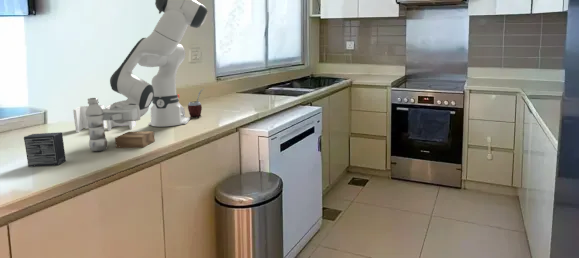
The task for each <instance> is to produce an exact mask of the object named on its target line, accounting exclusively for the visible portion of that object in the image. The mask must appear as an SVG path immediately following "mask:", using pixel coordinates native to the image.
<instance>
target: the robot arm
mask: <svg viewBox="0 0 579 258" xmlns="http://www.w3.org/2000/svg"><path fill="white" fill-rule="evenodd" d="M154 5H155V7H156V9H157V10H158V14H159V15H160V14H161V13H163V14H162V15H161V17H160V18H159V20H158V22H157V23H156V25H155V27H154V28H153V30H152V32H151V34H149V35H148V36H147V37H141V38H140V39H139V40H138V41H137V43H136V44H134V46H133V47H132V48H131V51H129V53H128V54H127V56H126V57H125V58H124V60H123V62H122V63H121V64H120V65H119V67H118V68H117V69H116V70H115V71H114V72H113V73H112V74H111V76H110V78H109V85H110V88H111V90H112V91H114V92H116V93H118V94H120V95H122V96H124V97H126V99H125V100H120V101H117V102H113V103H112V105H111V104H110V105H111V106H110V109H105V108H104V109H103V112H104V114H103V115H104V117H103V120H105V121H107V120H113V121H114V122H116V123H118V124H122V123H125V122H129V121H137V122H138V121H140V120H141V118H142V117H143V116H145V115H146V114H147V113H148V111H149V109H150V121H149V122H148V125H149V126H152V127H158V128H159V127H163V128H164V127H174V126H179V125H180V126H181V125H186V124H187V123H188V122H189V121H190V120H191V118H190V116H186V112H185V107H183V105H182V104H181V103H180V102H179V101H180V100H179V99H180V94H179V93H178V94H177V85H176V84H177V81H176V80H177V73H178V70H179V68H180V66H181V64H182V63H183V62H184V61H185V58H186V49H185V48H184V46H183V44H180V43H181V41H182V40H183V38H184V36H185V34H186V32H187V29H188V27H189V26H190V27H192V28H195V29H197V28H200V27H201V26H203V25H204V23H205V22H206V21H207V18H208V8H207V7H206V6H205V5H204V4H202V3H200V2H199V1H197V0H155V2H154ZM137 65H139V66H140V67H147V68H158V67H159V68H158V72H157V73H156V74H155V75H154V76H153V77H152V78H151V83H149V82H147V81H145V80H144V79H142V78H140V77H139V76H137V75H135V74H133V70H134V69H135V67H136V66H137ZM151 104H152V106H151V107H150V105H151Z"/></svg>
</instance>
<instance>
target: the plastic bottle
mask: <svg viewBox="0 0 579 258" xmlns="http://www.w3.org/2000/svg"><path fill="white" fill-rule="evenodd" d="M87 104H88V105H87V106H88V108H87V109H86V113H85V114H86V118H87V122H88V127H89V128H88V132H89V134H88V137H89V141H88V146H89V149H90V150H91V152H102V151H104V150H107V147H108V141H107V137H106V132H105V128H104V123H103V117H104V115H103V114H104V112H103V109H102V108H101V107H100V106H99V105H100V104H99V97H90V98H87Z"/></svg>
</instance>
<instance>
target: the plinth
mask: <svg viewBox="0 0 579 258" xmlns="http://www.w3.org/2000/svg"><path fill="white" fill-rule="evenodd" d="M114 141H115V148H116V149H122V148H123V149H129V148H130V149H133V148H134V149H137V148H139V149H141V148H146V147H147V146H149V145H150V144H153V143H154V142H156V140H155V131H151V130H150V131H149V130H148V131H141V130H140V131H127V132H124V133H122V134H120V135H118V136H116V137H114Z"/></svg>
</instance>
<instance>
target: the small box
mask: <svg viewBox="0 0 579 258" xmlns="http://www.w3.org/2000/svg"><path fill="white" fill-rule="evenodd" d="M23 140H24V146H25V154H26V159H27V166H28V168H30V167H31V168H32V167H33V168H34V167H47V166H48V167H51V166H59V165H61V164H63V163H64V162H67V158H66V151H65V145H64V137H63V132H59V131H58V132H44V133H32V134H28V135H24V137H23Z"/></svg>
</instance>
